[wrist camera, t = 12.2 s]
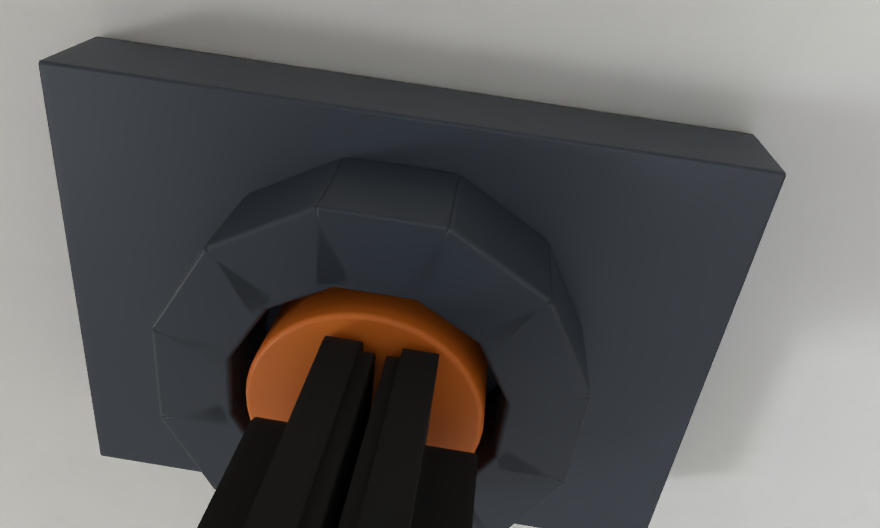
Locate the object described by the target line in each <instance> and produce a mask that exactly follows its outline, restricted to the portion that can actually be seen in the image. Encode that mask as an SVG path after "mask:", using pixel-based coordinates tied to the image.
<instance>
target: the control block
mask: <svg viewBox="0 0 880 528" xmlns="http://www.w3.org/2000/svg"><path fill="white" fill-rule="evenodd" d="M39 70H40V76H41V82H42V88H43V95H44V101H45V107H46V114H47V120H48V126H49V132H50V139H51V145H52V151H53V158H54V164H55V170H56V176H57V183H58V189H59V195H60V202H61V208H62V214H63V220H64V227H65V233H66V239H67V246H68V252H69V258H70V264H71V271H72V277H73V283H74V289H75V296H76V302H77V308H78V315H79V321H80V327H81V333H82V340H83V346H84V352H85V359H86V365H87V371H88V377H89V384H90V390H91V396H92V403H93V409H94V415H95V421H96V428H97V434H98V440H99V447H100V453H101V455H103V456H108V457H114V458H120V459H127V460H133V461H139V462H145V463H151V464H157V465H163V466H169V467H175V468H181V469H187V470H193V471H199V472H202V473H203V474H204V476H205V477H206V478H207V480H208V481H209V482H210V484H211V485H212V486H213V488H214V489H215V490H216V489H217V487H218V485H219V483H220V481H221V479H222V477H223V475H224V473H225V471H226V469H227V467H228V465H229V463H230V461H231V459H232V456H233V454H234V452H235V450H236V448H237V446H238V444H239V442H240V440H241V438H242V436H243V434H244V432H245V430H246V428H247V426H248V425H249V423H250V421H251V420H250V416H249V412H248V409H247V400H246V382H247V377H248V373H249V369H250V367H251V364H252V362H253V360H254V358H255V356H256V354H257V352H258V350H259V348H260V346H261V345H262V343H263V341H264V339H265V337H266V335H267V333H268V331H269V330H270V328H271V326H272V324H273V322H274V320H275V318H276V317H277V315H278V313H279V311H280V309H281V307H282V305H283V304H284V303H287V302H290V301H293V300H296V299H299V298H302V297H305V296H308V295H311V294H314V293H317V292H320V291H323V290H326V289H329V288H332V287H338V288H344V289H351V290H357V291H363V292H370V293H376V294H382V295H389V296H395V297H401V298H408V299H414V300H417V301H418V302H420V303H421V304H423V305H424V306H426V307H427V308H429V309H430V310H432V311H433V312H434V313H436V314H437V315H439V316H440V317H442V318H443V319H445V320H446V321H448V322H449V323H450V324H452V325H453V326H455V327H456V328H458V329H459V330H461V331H462V332H464V333H465V334H466V335H468V336H469V337H471V338H472V339H474V340H475V341H477V342H478V343H479V344H480V346H481V349H482V351H483V353H484V355H485V357H486V359H487V361H488V370H487V385H486V399H485V414H484V425H483V432H482V436H481V439H480V442H479V445H478V447H477V449H476V451H475V453H476V454H478V462H477V476H476V488H475V501H474V513H473V525H472V528H509V527H511V526H512V525H513V524H514V523H515V524H521V525H527V526H533V527H539V528H648V525H649V523H650V520H651V518H652V515H653V513H654V510H655V508H656V505H657V502H658V500H659V497H660V495H661V492H662V490H663V487H664V485H665V482H666V480H667V477H668V474H669V472H670V469H671V467H672V464H673V462H674V459H675V457H676V454H677V452H678V449H679V446H680V444H681V441H682V439H683V436H684V434H685V431H686V429H687V426H688V424H689V421H690V418H691V416H692V413H693V411H694V408H695V406H696V403H697V401H698V398H699V396H700V393H701V390H702V388H703V385H704V383H705V380H706V378H707V375H708V373H709V370H710V368H711V365H712V362H713V360H714V357H715V355H716V352H717V350H718V347H719V345H720V342H721V340H722V337H723V334H724V332H725V329H726V327H727V324H728V322H729V319H730V317H731V314H732V312H733V309H734V306H735V304H736V301H737V299H738V296H739V294H740V291H741V289H742V286H743V284H744V281H745V278H746V276H747V273H748V271H749V268H750V266H751V263H752V261H753V258H754V256H755V253H756V250H757V248H758V245H759V243H760V240H761V238H762V235H763V233H764V230H765V228H766V225H767V222H768V220H769V217H770V215H771V212H772V210H773V207H774V205H775V202H776V200H777V197H778V194H779V192H780V189H781V187H782V184H783V182H784V179H785V177H786V173H785V172H784V170H783V169H782V168H781V167H780V166H779V164H778V163H777V162H776V161H775V160H774V158H773V157H772V156H771V155H770V154H769V152H768V151H767V150H766V149H765V148H764V146H763V145H762V144H761V143H760V142H759V140H758V139H757V138H756V137H755V136H754V135H753V134H746V133H740V132H733V131H726V130H720V129H713V128H706V127H699V126H693V125H686V124H679V123H673V122H666V121H659V120H653V119H646V118H639V117H633V116H626V115H619V114H612V113H606V112H599V111H592V110H586V109H579V108H572V107H566V106H559V105H552V104H545V103H539V102H532V101H525V100H519V99H512V98H505V97H499V96H492V95H485V94H478V93H472V92H465V91H458V90H452V89H445V88H438V87H432V86H425V85H418V84H412V83H405V82H398V81H391V80H385V79H378V78H371V77H365V76H358V75H351V74H345V73H338V72H331V71H324V70H318V69H311V68H304V67H298V66H291V65H284V64H278V63H271V62H264V61H257V60H251V59H244V58H237V57H231V56H224V55H217V54H211V53H204V52H197V51H191V50H184V49H177V48H170V47H164V46H157V45H150V44H144V43H137V42H130V41H124V40H117V39H110V38H103V37H95V38H92V39H90V40H88V41H85V42H83V43H81V44H78V45H76V46H73V47H71V48H69V49H66V50H64V51H62V52H59V53H57V54H54V55H52V56H50V57H47V58H45V59H43V60H40V61H39Z"/></svg>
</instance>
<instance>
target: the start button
mask: <svg viewBox="0 0 880 528" xmlns="http://www.w3.org/2000/svg"><path fill="white" fill-rule="evenodd" d="M325 336H332V337H339V338H345V339H351V340H357V341H362V342H363V352H369V353H375V357H376V358H375V370H374V380H373V391H372V401H371V409H372V405H373V402H374V398H375V395H376V391H377V388H378V384H379V381H380V377H381V374H382V370H383V366H384V363H385V359H386V357H387V356H393V357H399V358H400V357H401V353H402V349H403V348H406V349H412V350H419V351H425V352H431V353H437V354H439V362H438V368H437V375H436V382H435V388H434V395H433V402H432V408H431V415H430V421H429V428H428V435H427V441H426V445H428V446H434V447H440V448H446V449H452V450H458V451H464V452H470V453H475V451H476V449H477V447H478V445H479V442H480V439H481V436H482V432H483V425H484V414H485V399H486V385H487V370H488V361H487V359H486V357H485V355H484V353H483V351H482V349H481V346H480V344H479V343H478V342H477V341H475V340H474V339H472V338H471V337H469V336H468V335H466V334H465V333H464V332H462V331H461V330H459V329H458V328H456V327H455V326H453V325H452V324H450V323H449V322H448V321H446V320H445V319H443V318H442V317H440V316H439V315H437V314H436V313H434V312H433V311H432V310H430V309H429V308H427V307H426V306H424V305H423V304H421V303H420V302H418V301H417V300H414V299H408V298H401V297H395V296H389V295H382V294H376V293H370V292H363V291H357V290H351V289H344V288H338V287H332V288H329V289H326V290H323V291H320V292H317V293H314V294H311V295H308V296H305V297H302V298H299V299H296V300H293V301H290V302H287V303H284V304H283V305H282V307H281V309H280V311H279V313H278V315H277V317H276V318H275V320H274V322H273V324H272V326H271V328H270V330H269V331H268V333H267V335H266V337H265V339H264V341H263V343H262V345H261V346H260V348H259V350H258V352H257V354H256V356H255V358H254V360H253V362H252V364H251V367H250V369H249V373H248V377H247V382H246V400H247V409H248V412H249V416H250V420H252V419H253V418H254V417H260V418H266V419H272V420H278V421H284V422H288V420H289V418H290V416H291V413H292V411H293V409H294V406H295V404H296V401H297V399H298V397H299V394H300V392H301V390H302V387H303V385H304V383H305V380H306V378H307V376H308V373H309V371H310V369H311V366H312V364H313V361H314V359H315V357H316V354H317V352H318V350H319V347H320V345H321V343H322V340H323V339H324V337H325ZM370 412H371V411H370Z"/></svg>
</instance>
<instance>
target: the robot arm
mask: <svg viewBox="0 0 880 528" xmlns="http://www.w3.org/2000/svg"><path fill="white" fill-rule="evenodd" d="M375 358H376V357H375V353H369V352H363V342H362V341H357V340H351V339H345V338H339V337H332V336H325V337H324V339H323V340H322V343H321V345H320V347H319V350H318V352H317V354H316V357H315V359H314V361H313V364H312V366H311V369H310V371H309V373H308V376H307V378H306V380H305V383H304V385H303V387H302V390H301V392H300V394H299V397H298V399H297V401H296V404H295V406H294V409H293V411H292V413H291V416H290V418H289V420H288V422H284V421H278V420H272V419H266V418H260V417H254V418H253V419H252V420H251V421H250V423H249V425H248V426H247V428H246V430H245V432H244V434H243V436H242V438H241V440H240V442H239V444H238V446H237V448H236V450H235V452H234V454H233V456H232V459H231V461H230V463H229V465H228V467H227V469H226V471H225V473H224V475H223V477H222V479H221V481H220V483H219V485H218V487H217V489H216V491H215V493H214V495H213V497H212V499H211V501H210V503H209V505H208V507H207V509H206V511H205V513H204V515H203V517H202V519H201V521H200V523H199V525H198V528H472V525H473V513H474V501H475V488H476V476H477V462H478V454H476V453H470V452H464V451H458V450H452V449H446V448H440V447H434V446H428V445H426V441H427V435H428V428H429V421H430V415H431V408H432V402H433V395H434V388H435V382H436V375H437V368H438V362H439V354H437V353H431V352H425V351H419V350H412V349H406V348H403V349H402V353H401V357H400V358H399V357H393V356H387V357H386V359H385V363H384V366H383V370H382V374H381V377H380V381H379V384H378V388H377V391H376V395H375V398H374V402H373V405H372V409H371V401H372V391H373V380H374V370H375ZM370 411H371V412H370Z"/></svg>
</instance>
